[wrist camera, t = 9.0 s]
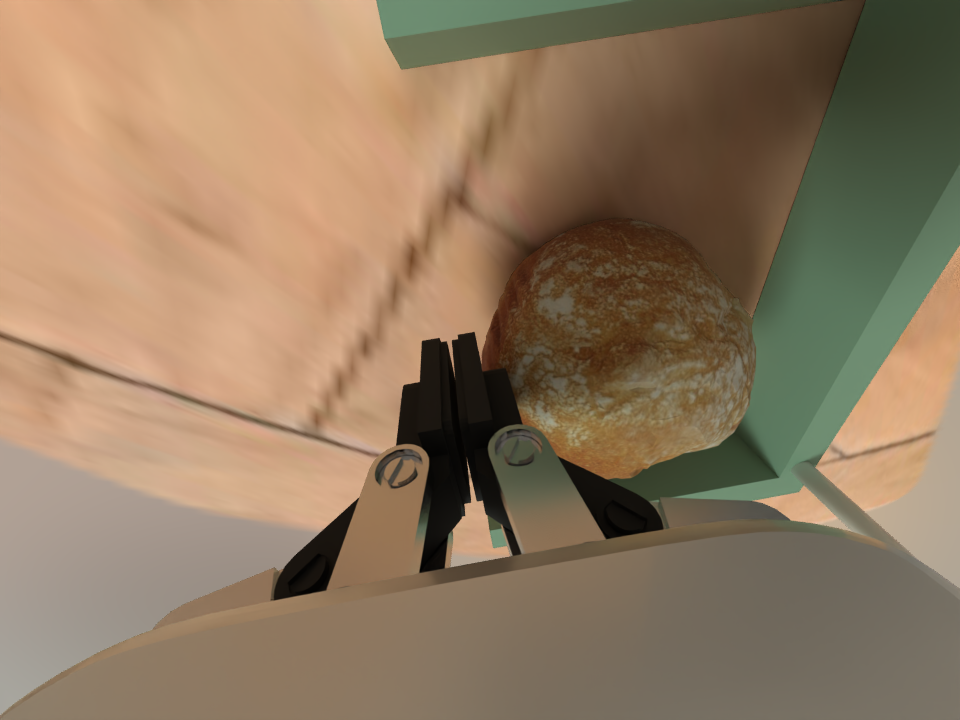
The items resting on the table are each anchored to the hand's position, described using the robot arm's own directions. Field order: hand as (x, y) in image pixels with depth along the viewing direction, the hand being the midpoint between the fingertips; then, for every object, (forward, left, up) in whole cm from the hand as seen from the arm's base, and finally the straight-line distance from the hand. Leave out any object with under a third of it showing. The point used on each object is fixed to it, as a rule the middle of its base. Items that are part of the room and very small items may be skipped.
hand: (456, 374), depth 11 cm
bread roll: (+2, +6, -4) cm, 7 cm away
